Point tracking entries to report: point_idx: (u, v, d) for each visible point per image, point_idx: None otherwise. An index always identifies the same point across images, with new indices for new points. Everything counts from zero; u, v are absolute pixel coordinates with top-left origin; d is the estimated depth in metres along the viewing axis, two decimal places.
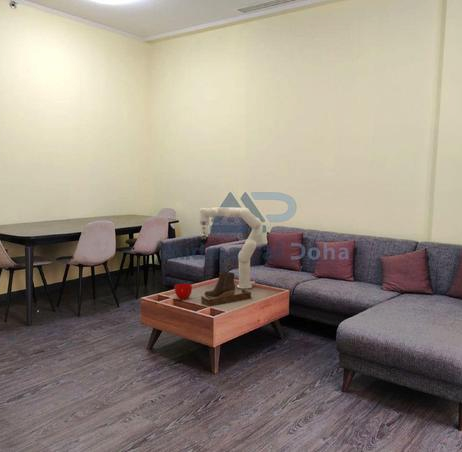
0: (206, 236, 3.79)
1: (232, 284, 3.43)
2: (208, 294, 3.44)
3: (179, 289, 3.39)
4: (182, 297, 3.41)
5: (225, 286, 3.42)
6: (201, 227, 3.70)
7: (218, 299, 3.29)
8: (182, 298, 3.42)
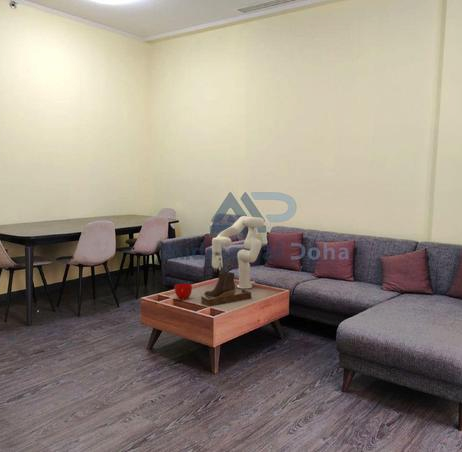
0: None
1: (232, 284, 3.43)
2: (208, 294, 3.44)
3: (179, 289, 3.39)
4: (182, 297, 3.41)
5: (225, 286, 3.42)
6: (217, 258, 3.51)
7: (218, 299, 3.29)
8: (182, 298, 3.42)
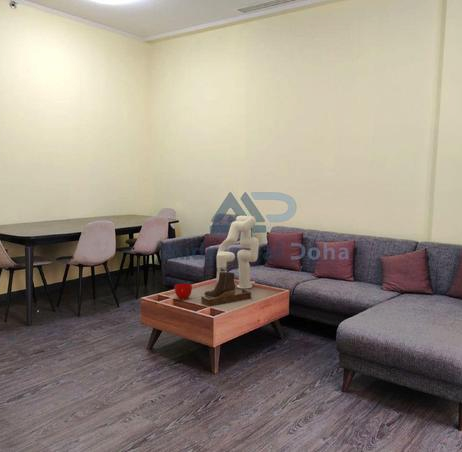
0: None
1: (232, 284, 3.42)
2: (208, 294, 3.44)
3: (179, 289, 3.39)
4: (182, 297, 3.41)
5: (225, 286, 3.42)
6: None
7: (218, 299, 3.29)
8: (182, 298, 3.42)
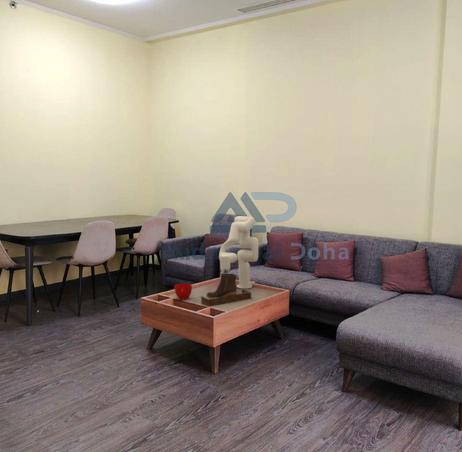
0: None
1: (233, 286, 3.37)
2: (210, 295, 3.41)
3: (179, 289, 3.39)
4: (182, 297, 3.41)
5: (226, 288, 3.37)
6: None
7: (218, 299, 3.29)
8: (182, 298, 3.42)
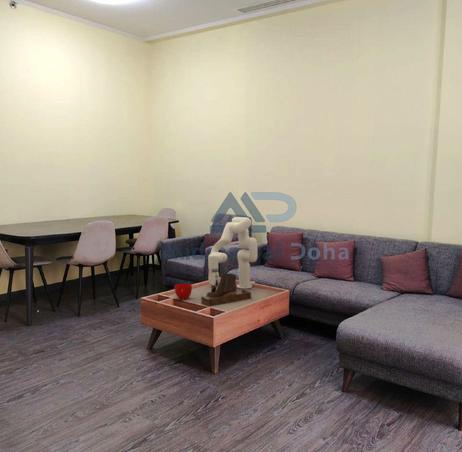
0: None
1: (233, 286, 3.37)
2: (210, 295, 3.41)
3: (179, 289, 3.39)
4: (182, 297, 3.41)
5: (226, 288, 3.37)
6: (213, 275, 3.43)
7: (218, 299, 3.29)
8: (182, 298, 3.42)
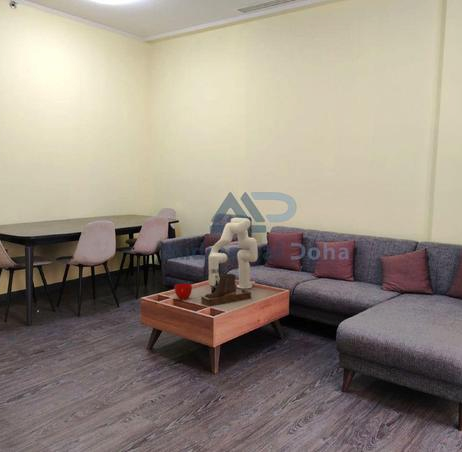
0: None
1: (233, 286, 3.37)
2: (209, 297, 3.37)
3: (179, 289, 3.39)
4: (182, 297, 3.41)
5: (226, 288, 3.36)
6: (213, 276, 3.39)
7: (218, 299, 3.29)
8: (182, 298, 3.42)
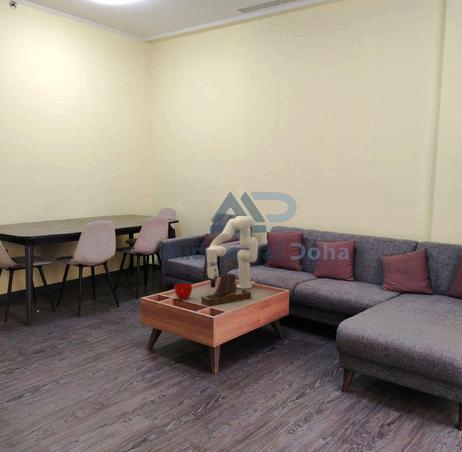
0: None
1: (234, 286, 3.37)
2: None
3: (179, 289, 3.39)
4: (182, 297, 3.41)
5: (227, 289, 3.35)
6: (212, 269, 3.43)
7: (218, 299, 3.29)
8: (182, 298, 3.42)
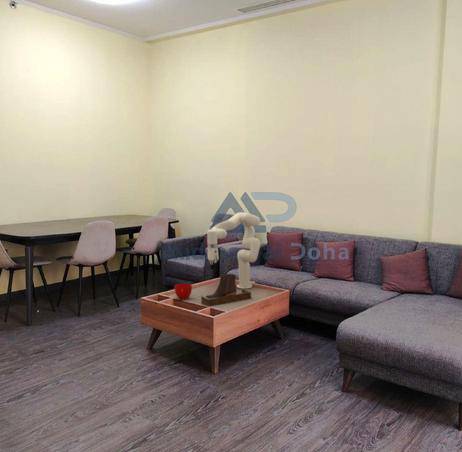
0: None
1: (234, 286, 3.37)
2: None
3: (179, 289, 3.39)
4: (182, 297, 3.41)
5: (227, 289, 3.35)
6: (212, 251, 3.43)
7: (218, 299, 3.29)
8: (182, 298, 3.42)
